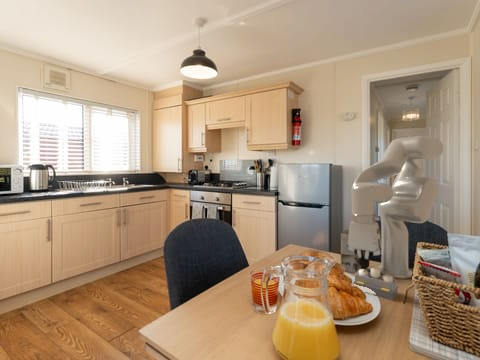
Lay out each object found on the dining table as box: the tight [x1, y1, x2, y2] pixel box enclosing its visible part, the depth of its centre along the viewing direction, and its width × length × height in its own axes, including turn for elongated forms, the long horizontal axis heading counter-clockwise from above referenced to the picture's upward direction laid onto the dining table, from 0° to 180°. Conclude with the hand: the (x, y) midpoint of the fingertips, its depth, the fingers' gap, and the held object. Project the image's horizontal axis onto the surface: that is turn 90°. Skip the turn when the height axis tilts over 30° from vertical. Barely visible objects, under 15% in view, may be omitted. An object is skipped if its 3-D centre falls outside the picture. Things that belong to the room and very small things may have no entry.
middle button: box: [369, 266, 381, 280], centre depth 91 cm, size 3×3×4 cm
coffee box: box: [340, 229, 361, 274], centre depth 112 cm, size 9×6×16 cm
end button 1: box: [382, 274, 394, 283], centre depth 89 cm, size 3×3×4 cm
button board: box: [353, 270, 399, 301], centre depth 91 cm, size 7×12×5 cm, turn 46°
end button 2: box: [358, 268, 369, 277], centre depth 94 cm, size 3×3×4 cm
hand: (364, 268), depth 94 cm, fingers closed
